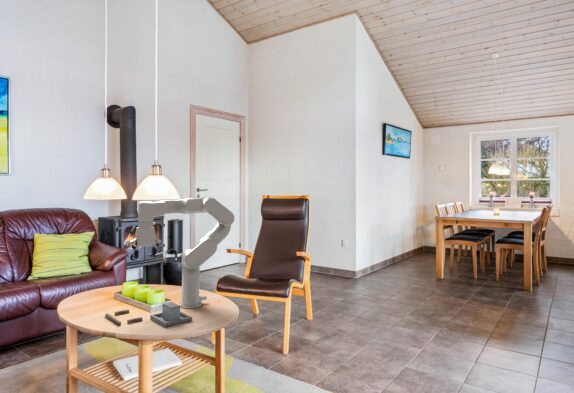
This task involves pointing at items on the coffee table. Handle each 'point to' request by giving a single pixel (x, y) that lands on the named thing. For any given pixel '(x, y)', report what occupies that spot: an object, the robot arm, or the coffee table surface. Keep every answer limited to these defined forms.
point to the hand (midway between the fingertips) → (145, 256)
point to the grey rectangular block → (170, 311)
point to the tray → (166, 323)
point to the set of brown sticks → (119, 314)
